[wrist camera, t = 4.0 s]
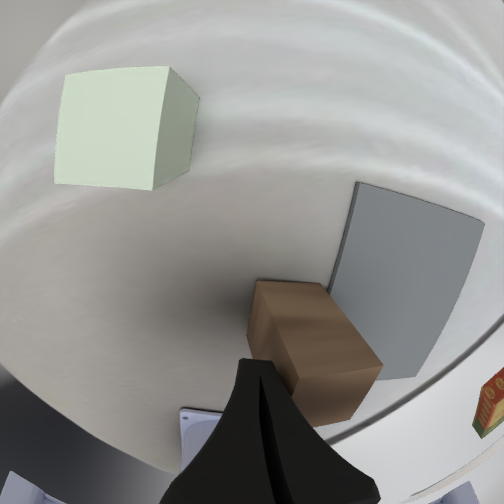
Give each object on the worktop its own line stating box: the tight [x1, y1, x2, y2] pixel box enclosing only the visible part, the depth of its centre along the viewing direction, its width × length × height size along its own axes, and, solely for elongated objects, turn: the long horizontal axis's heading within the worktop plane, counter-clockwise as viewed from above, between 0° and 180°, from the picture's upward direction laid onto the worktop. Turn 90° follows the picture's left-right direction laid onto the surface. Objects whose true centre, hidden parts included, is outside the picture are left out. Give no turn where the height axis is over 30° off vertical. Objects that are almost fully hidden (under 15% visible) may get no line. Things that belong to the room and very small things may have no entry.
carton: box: [472, 367, 504, 439], centre depth 23 cm, size 8×16×4 cm, turn 32°
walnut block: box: [246, 281, 384, 428], centre depth 13 cm, size 4×4×7 cm
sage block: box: [54, 66, 200, 190], centre depth 10 cm, size 4×4×6 cm
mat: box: [327, 182, 485, 381], centre depth 16 cm, size 14×11×1 cm
